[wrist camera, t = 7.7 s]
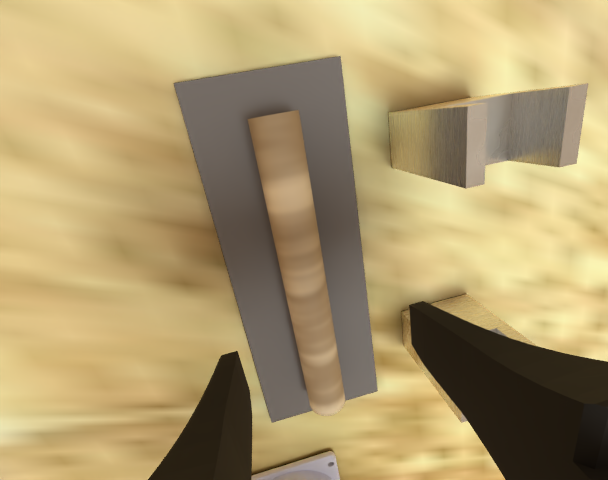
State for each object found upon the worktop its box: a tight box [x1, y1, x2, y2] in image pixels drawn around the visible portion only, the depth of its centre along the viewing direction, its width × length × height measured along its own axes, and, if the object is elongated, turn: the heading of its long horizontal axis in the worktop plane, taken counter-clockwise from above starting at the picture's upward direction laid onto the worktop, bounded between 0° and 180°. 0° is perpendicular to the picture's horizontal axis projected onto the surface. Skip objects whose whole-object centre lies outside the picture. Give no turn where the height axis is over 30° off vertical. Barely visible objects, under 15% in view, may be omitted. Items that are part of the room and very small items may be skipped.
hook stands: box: [388, 83, 588, 423], centre depth 18 cm, size 16×5×6 cm, turn 10°
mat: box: [174, 56, 378, 422], centre depth 19 cm, size 22×8×1 cm, turn 10°
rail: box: [248, 110, 345, 416], centre depth 18 cm, size 18×2×2 cm, turn 10°
